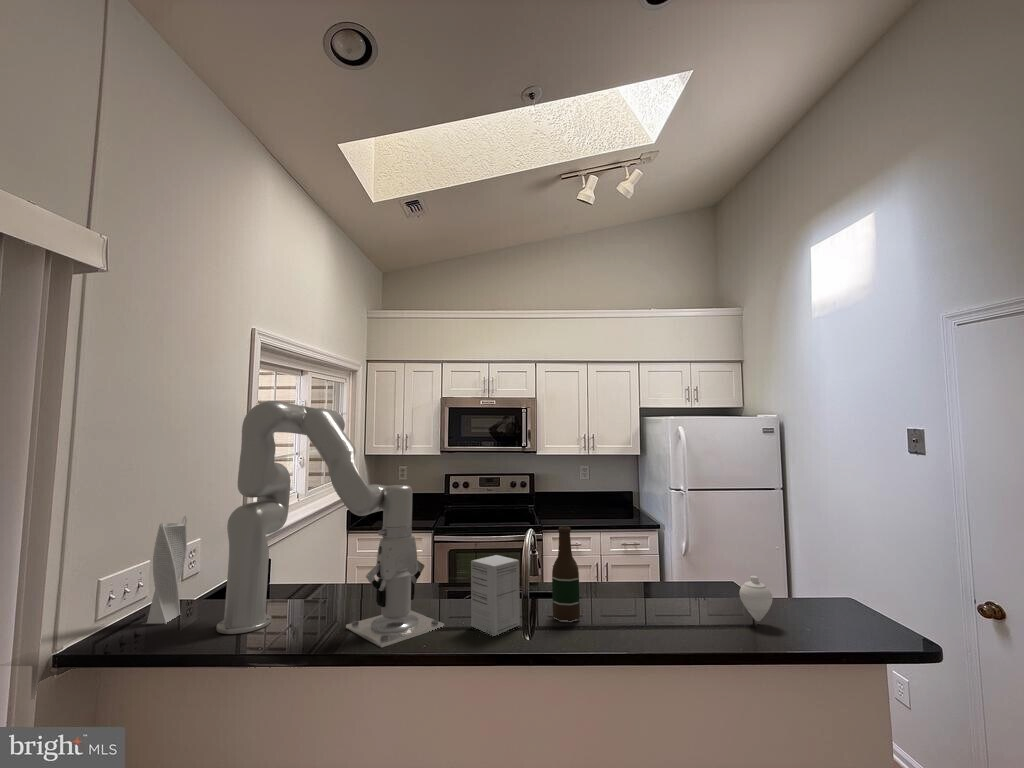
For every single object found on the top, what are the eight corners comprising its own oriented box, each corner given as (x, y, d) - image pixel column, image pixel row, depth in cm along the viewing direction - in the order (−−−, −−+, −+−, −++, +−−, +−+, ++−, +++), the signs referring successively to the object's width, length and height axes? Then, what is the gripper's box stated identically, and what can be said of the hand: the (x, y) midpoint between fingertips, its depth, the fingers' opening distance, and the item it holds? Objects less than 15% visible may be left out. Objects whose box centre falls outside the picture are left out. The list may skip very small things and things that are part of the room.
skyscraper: (190, 616, 132) (198, 514, 136) (168, 626, 124) (178, 518, 128) (160, 616, 132) (170, 514, 136) (137, 626, 124) (148, 518, 128)
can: (415, 611, 124) (416, 564, 126) (402, 621, 117) (403, 571, 119) (390, 609, 126) (391, 563, 128) (375, 619, 119) (376, 569, 120)
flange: (345, 627, 121) (346, 621, 121) (406, 611, 134) (406, 605, 134) (381, 647, 108) (381, 640, 109) (443, 627, 121) (444, 620, 121)
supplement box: (497, 618, 127) (496, 554, 129) (521, 627, 120) (520, 559, 123) (469, 628, 120) (470, 559, 123) (493, 637, 114) (493, 565, 116)
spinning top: (768, 633, 115) (763, 581, 117) (736, 624, 121) (732, 576, 123) (779, 625, 120) (775, 576, 122) (749, 617, 126) (745, 571, 128)
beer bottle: (585, 616, 128) (582, 526, 131) (573, 625, 121) (571, 530, 125) (560, 611, 132) (558, 524, 136) (547, 620, 125) (545, 527, 129)
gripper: (373, 538, 116) (370, 613, 113) (432, 530, 128) (432, 598, 125) (360, 534, 122) (357, 606, 119) (418, 527, 133) (417, 592, 130)
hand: (395, 601), depth 122 cm, fingers closed on can, 7 cm apart
